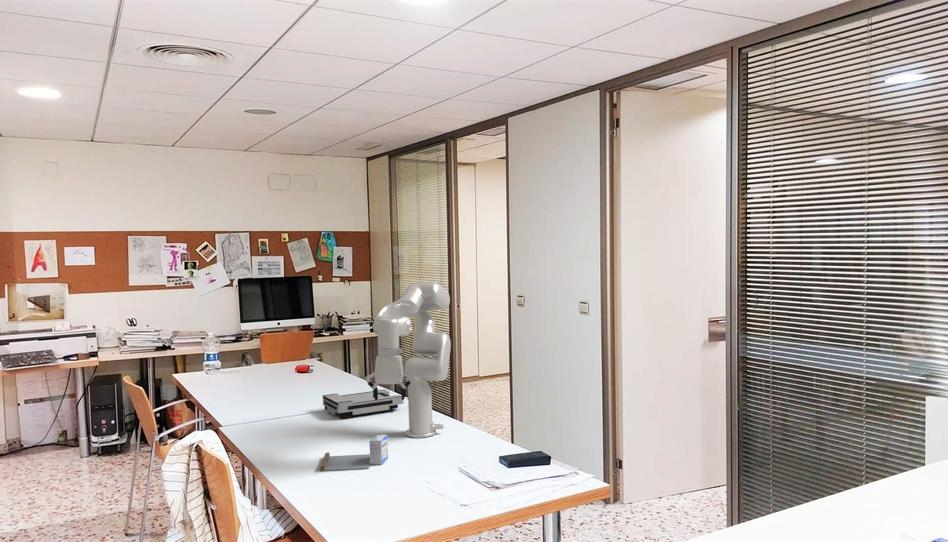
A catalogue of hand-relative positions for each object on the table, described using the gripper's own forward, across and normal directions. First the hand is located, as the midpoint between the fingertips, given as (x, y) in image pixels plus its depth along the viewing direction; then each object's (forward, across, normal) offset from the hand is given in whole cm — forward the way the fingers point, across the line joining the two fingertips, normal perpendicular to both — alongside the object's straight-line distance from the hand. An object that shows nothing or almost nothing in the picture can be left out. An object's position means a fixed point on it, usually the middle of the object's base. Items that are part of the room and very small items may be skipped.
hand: (389, 399), depth 245 cm
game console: (+21, +22, -75) cm, 81 cm away
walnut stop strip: (+22, +23, +5) cm, 32 cm away
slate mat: (+22, +15, +4) cm, 27 cm away
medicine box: (+22, +4, +3) cm, 22 cm away
